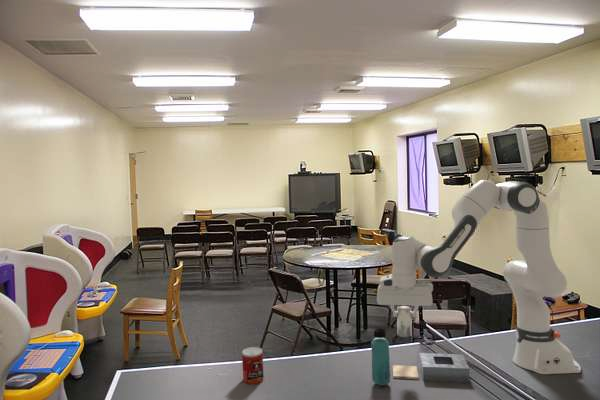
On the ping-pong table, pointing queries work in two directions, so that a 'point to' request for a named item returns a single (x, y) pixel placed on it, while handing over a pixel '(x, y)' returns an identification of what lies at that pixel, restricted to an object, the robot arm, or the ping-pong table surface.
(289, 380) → the ping-pong table surface
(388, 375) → the beverage bottle
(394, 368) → the oak pad
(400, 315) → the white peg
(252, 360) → the canned food
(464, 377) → the block
